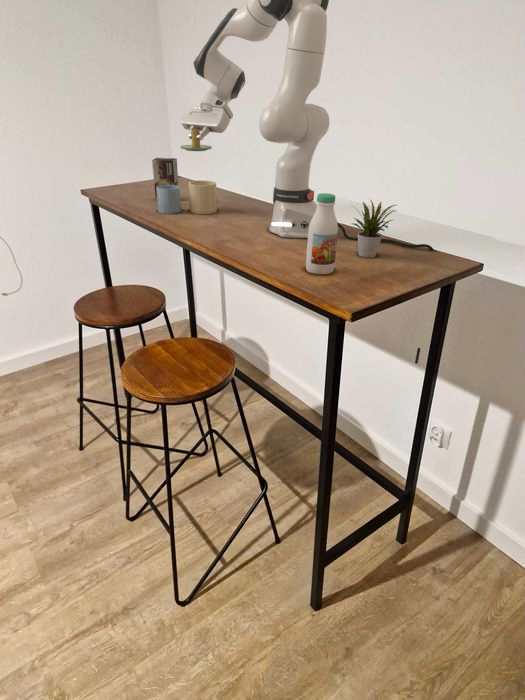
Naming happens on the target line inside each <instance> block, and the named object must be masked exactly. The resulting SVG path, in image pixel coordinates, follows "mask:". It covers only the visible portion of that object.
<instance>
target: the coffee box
mask: <svg viewBox="0 0 525 700" xmlns="http://www.w3.org/2000/svg"><path fill="white" fill-rule="evenodd" d="M151 164H152V175H153V184H154V185H153V186H154V195H155V201H157V191H156V187H157V186H161V185H176V186H179V187H180V185H179V172H178V158H172V157H155V158H153V159H152V160H151Z"/></svg>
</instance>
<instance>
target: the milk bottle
mask: <svg viewBox="0 0 525 700" xmlns="http://www.w3.org/2000/svg"><path fill="white" fill-rule="evenodd" d="M335 202H336V195H335V194H333V193H326V192H325V193H324V192H323V193H322V192H321V193H318V194H317V196H316V204H317V209H316V212H315V214H314V216H313V218H312V220H311V222H310V226H309V233H308V238H307V245H306V257H305V258H306V260H305V270H306V271H307V272H308V273H310V274H315V275H330V274H332V273H333V272H334V271H335V266H336V265H335V264H336V255H337V245H338V236H339V235H338V233H339V227H338V224H337V223H338V220H337V217H336V214H335V209H334V206H335V205H336V203H335Z"/></svg>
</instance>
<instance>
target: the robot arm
mask: <svg viewBox="0 0 525 700" xmlns="http://www.w3.org/2000/svg"><path fill="white" fill-rule="evenodd" d="M329 2H330V0H246V1H245V3H244V4H243V5H242V6H240V7H239V8H235V7H233V8H232V9H230V10H229V11H228V12H227V13H226V14H225V16H224V17H223V19H222V20H221V21H220V23H219V24H218V25H217V26H216V29H215V30H214V31H213V33H212V34H211V35H210V37H209V38H208V40H207V42H206V43H205V44H204V45H203V46H202V47H200V48H199V50H198V51H197V52H196V55H195V56H194V59H193V68H194V71H195V74H196V75H198V76H199V77H200V78H202V79H204V80H206V81H208V83H210V84H211V85H210V89H209V90H208V91H207V92H206V93H205V94H204V97H203V98H202V100H201V102H200V103H199V106H194V107H190V108H189V109H188V110H187V111H186V113H185V114H184V115H183V117H182V118H181V120H180V124H181V126H182V127H183V128H184V129H185V130H187V131H189V133H188V135H187V137H188V138H189V140H192V134H191V130H200V133H198V135H197V139H198V140H200V141H203V139H205V137H206V136H208V135H209V134H210V133H216V134H223V133H224V132H225V131H226V130H227V128H228V126H229V125H230V123H231V120H232V119H233V118H234V113H233V112H232V110H231V108H230V107H229V104H230V102H232V100H234V99H237V98H238V96H239V94H240V92H241V91H242V89H243V87H245V84H246V75H245V71H244V70H243V69H242V68H241V67H239V66H238V65H237V64H236V63H235V62H233V61H231V60H230V59H229V58H228V57H226V56H225V55H223V53H221V52H220V50H219V48H220V46H221V45H222V44H223V42H224V41H225V40H226V38H228V37H237V38H240V39H243V40H245V41H248V42H253V43H254V42H256V43H257V42H262V41H264V40H266V39H268V38H269V37H270V36H271V34H272V33H273V32H274V30H275V28H276V27H277V26H278V23H279V22H281V21H283V19H284V20H285V21H286V23H287V26H288V36H287V42H286V49H285V50H286V51H285V58H284V63H283V69H282V76H281V81H280V83H279V86H278V88H277V91H276V92H275V95H274V97H273V98H272V100H271V102H270V103H269V104H268V105H267V106H266V107H265V108H264V109H263V110H262V111H261V114H260V115H259V119H258V120H259V121H258V127H259V132H260V135H261V136H262V137H263V139H264V140H265V141H267V142H271V143H274V144H287V145H286V149H285V151H284V152H283V154H282V155H281V156H280V157H279V158H278V160H277V161H276V162H275V163H276V164H275V177H274V178H275V179H274V184H275V185H274V187H273V191H272V202H273V209H272V216H271V221H270V223H269V227H268V230H269V232H270V233H273V234H276V235H278V236H279V237H280V238H288V239H289V238H294V239H308V233H309V226H310V222H311V220H312V218H313V216H314V214H315V212H316V209H317V202H316V201H314V199H315V190H314V189H313V190H312V189H311V188H309V184H310V176H311V175H310V174H311V166H312V160H313V157H314V155H315V152H316V149H317V147H318V145H319V143H320V142H321V140H322V139H323V138H324V137H325V135H326V134H327V133H328V132H329V129H330V128H329V127H330V115H329V113H328V111H327V110H326V109H325V108H324V107H322V106H320V105H317V104H315V103H306V102H307V100H308V98H309V96H310V95H311V93H312V92H313V91H314V90H316V88H318V86H319V84H320V82H321V78H322V77H321V76H322V72H323V64H324V59H325V58H324V57H325V51H326V45H327V33H328V31H327V29H328V19H327V18H328V17H327V9H328V7H329ZM337 224H338V228H339V229H340V230H341V232H342V235H343V236H344V237H345V238H346V239H347V240H350V241H358V237H353V236H350V235H348V234H347V231H346V229H345V227H344V226H343V225H342V224H340V223H339V222H337ZM381 242H384V243H391V244H396V245H400V246H404V247H407V248H414V249H416V248H427V249H428V250H430V252H435V249H434V247H432V246H431V245H430V244H427V243H420V244H412V243H406V242H403V241H399V240H396V239H390V238H381V241H380V243H381ZM420 354H421V347H417V350H416V355H415V360H414V364H416V365H417V364H419V358H420Z"/></svg>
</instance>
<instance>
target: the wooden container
mask: <svg viewBox="0 0 525 700" xmlns="http://www.w3.org/2000/svg"><path fill="white" fill-rule="evenodd" d="M188 198H189V212H190V213H192V214H197V215H211V214H214V213H216V212H217V210H218V204H217V203H218V202H217V201H218V200H217V199H218V198H217V182H216V181H213V180H192V181H189V182H188Z"/></svg>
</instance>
